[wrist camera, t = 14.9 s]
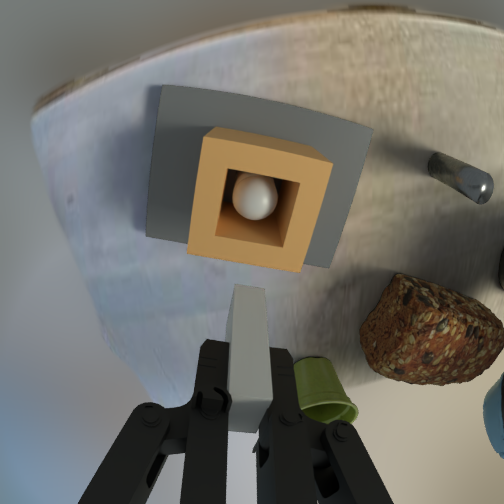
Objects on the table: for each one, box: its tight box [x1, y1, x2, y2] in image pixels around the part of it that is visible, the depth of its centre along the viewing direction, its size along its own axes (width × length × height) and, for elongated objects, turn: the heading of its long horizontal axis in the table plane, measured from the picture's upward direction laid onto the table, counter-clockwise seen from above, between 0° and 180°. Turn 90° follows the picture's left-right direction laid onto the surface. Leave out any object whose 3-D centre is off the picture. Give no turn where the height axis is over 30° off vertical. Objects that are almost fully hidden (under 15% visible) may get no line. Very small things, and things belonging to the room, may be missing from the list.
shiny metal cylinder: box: [428, 152, 494, 204], centre depth 22 cm, size 3×3×8 cm
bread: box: [360, 274, 504, 386], centre depth 31 cm, size 19×11×10 cm, turn 71°
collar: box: [187, 127, 333, 273], centre depth 22 cm, size 8×8×7 cm
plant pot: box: [294, 357, 358, 424], centre depth 35 cm, size 9×9×9 cm
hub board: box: [146, 85, 374, 268], centre depth 23 cm, size 18×14×8 cm
